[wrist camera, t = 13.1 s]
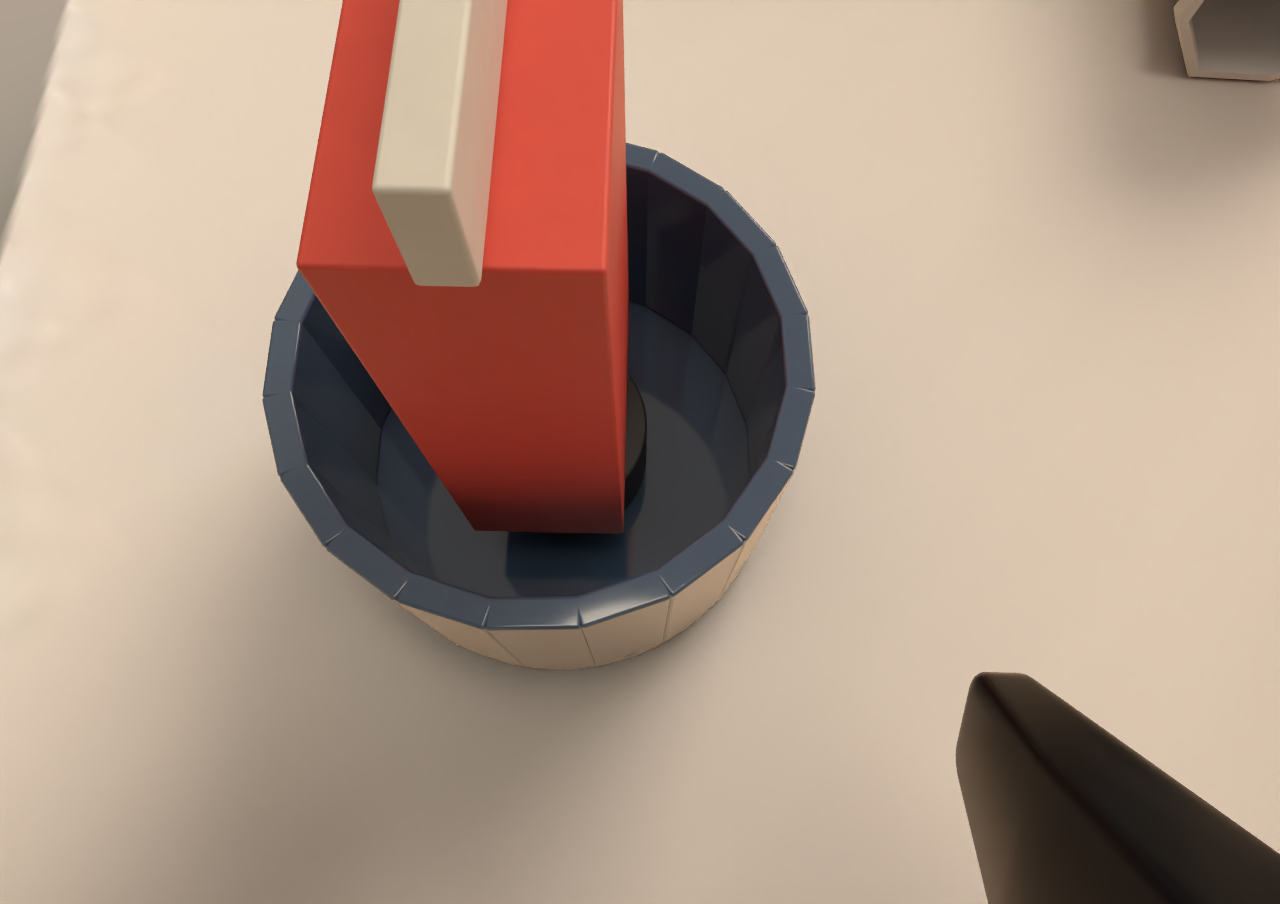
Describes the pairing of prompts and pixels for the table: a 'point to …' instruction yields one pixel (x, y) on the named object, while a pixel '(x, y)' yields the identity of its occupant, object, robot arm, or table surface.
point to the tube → (1230, 38)
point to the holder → (675, 457)
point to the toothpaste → (487, 248)
